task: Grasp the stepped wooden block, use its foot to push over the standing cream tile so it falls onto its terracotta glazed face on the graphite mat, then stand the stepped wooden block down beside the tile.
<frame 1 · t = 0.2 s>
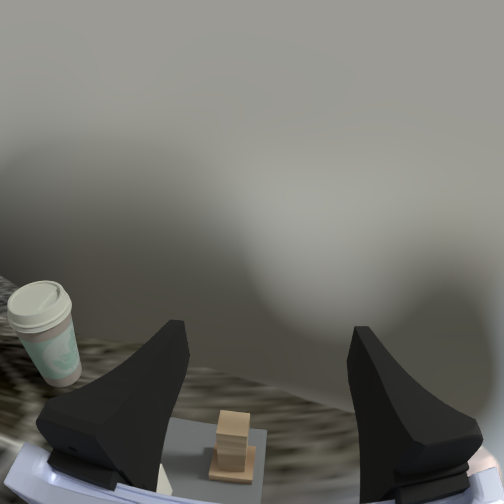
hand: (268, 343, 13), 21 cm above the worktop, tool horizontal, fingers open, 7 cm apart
mat: (162, 498, 22), on the worktop
coffee cup: (63, 373, 35), on the worktop
stepped wooden block: (233, 465, 26), resting on mat
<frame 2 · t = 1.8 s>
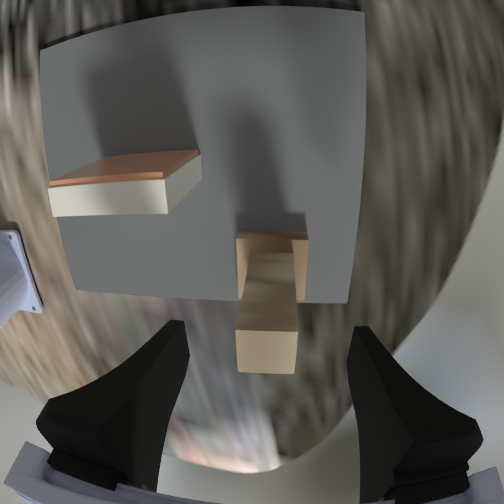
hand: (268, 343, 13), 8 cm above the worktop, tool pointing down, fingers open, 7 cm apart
tile: (151, 166, 18), resting on mat
mat: (186, 162, 18), on the worktop
stepped wooden block: (272, 261, 20), resting on mat
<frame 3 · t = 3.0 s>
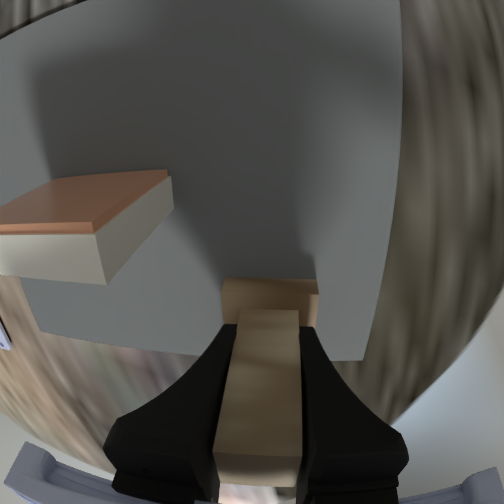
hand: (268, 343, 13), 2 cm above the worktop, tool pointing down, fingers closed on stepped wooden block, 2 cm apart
tile: (108, 191, 13), resting on mat
mat: (154, 186, 13), on the worktop
stepped wooden block: (270, 315, 15), resting on mat, touching gripper
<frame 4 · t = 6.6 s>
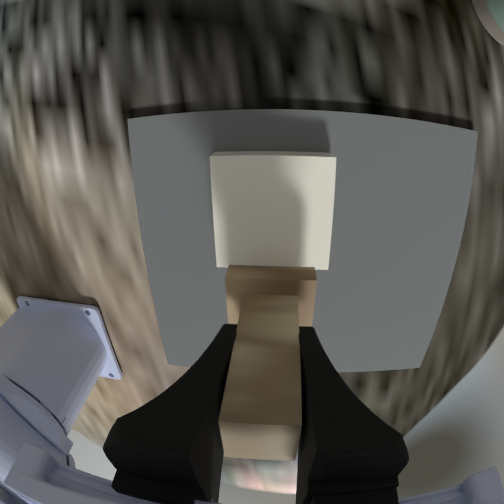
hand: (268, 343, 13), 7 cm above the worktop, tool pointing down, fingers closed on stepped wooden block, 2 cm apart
tile: (272, 261, 18), point 1 cm above the worktop, tilted 90°, touching mat
mat: (306, 263, 20), on the worktop
coffee cup: (502, 10, 11), on the worktop
stepped wooden block: (271, 301, 16), point 4 cm above the worktop, touching gripper
when the fingers open (4 cm above the worktop, at t = 9.8 s): stepped wooden block stays where it is, resting on mat.
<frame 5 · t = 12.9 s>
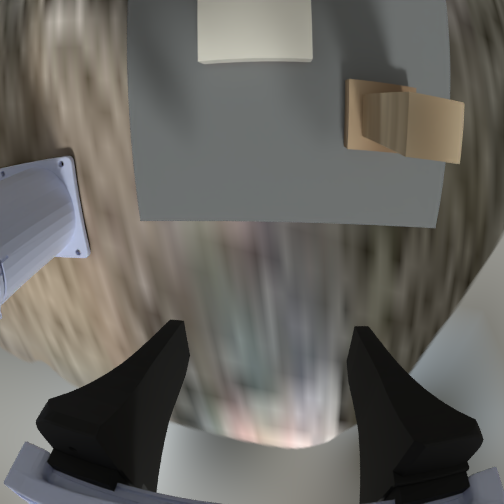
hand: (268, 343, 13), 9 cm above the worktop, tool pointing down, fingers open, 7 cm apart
tile: (255, 60, 15), point 1 cm above the worktop, tilted 90°, touching mat
mat: (292, 76, 17), on the worktop
stepped wooden block: (377, 116, 17), resting on mat
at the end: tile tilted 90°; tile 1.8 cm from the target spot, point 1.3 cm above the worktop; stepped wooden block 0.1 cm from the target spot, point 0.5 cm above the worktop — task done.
